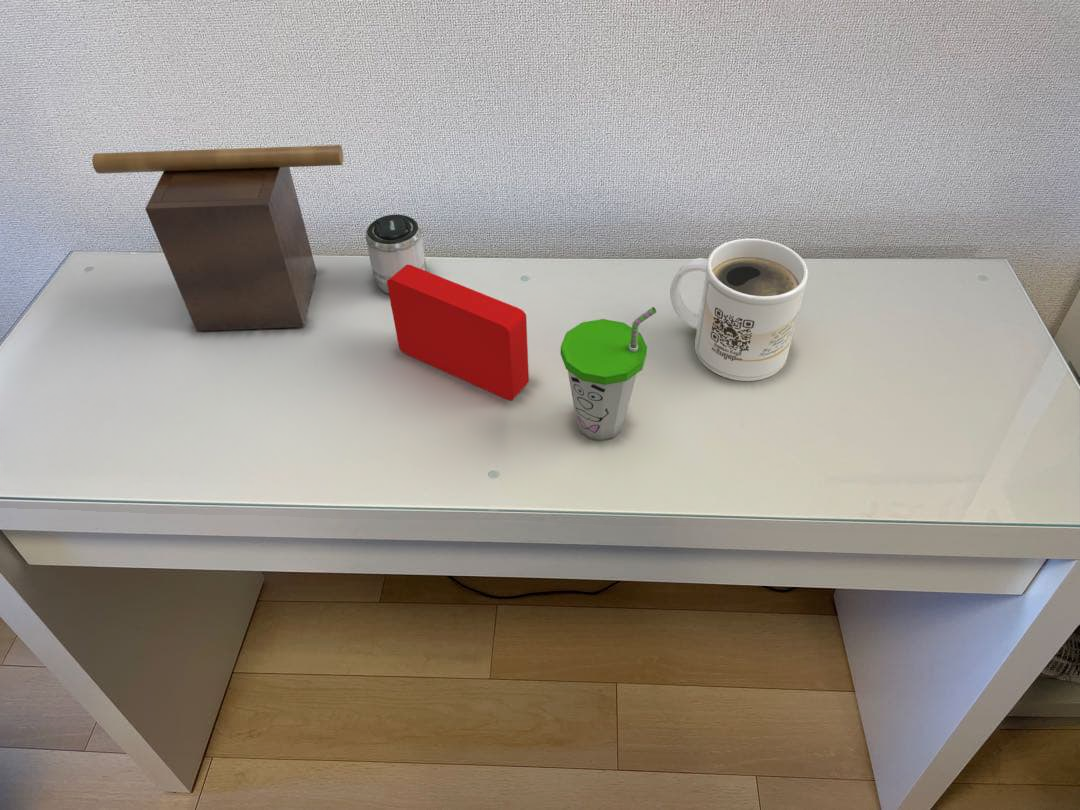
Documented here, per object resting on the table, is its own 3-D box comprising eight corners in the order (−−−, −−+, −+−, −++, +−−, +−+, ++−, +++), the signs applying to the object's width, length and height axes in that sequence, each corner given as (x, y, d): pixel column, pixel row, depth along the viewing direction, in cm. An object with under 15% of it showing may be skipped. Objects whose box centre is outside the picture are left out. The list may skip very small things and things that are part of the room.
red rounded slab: (529, 385, 89) (526, 310, 81) (513, 402, 87) (509, 328, 80) (416, 335, 94) (404, 262, 87) (399, 351, 93) (386, 277, 85)
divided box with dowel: (137, 333, 95) (161, 276, 102) (362, 324, 95) (371, 269, 102) (69, 193, 82) (102, 139, 89) (330, 184, 82) (343, 131, 89)
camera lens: (423, 261, 104) (415, 205, 98) (432, 292, 99) (424, 236, 94) (371, 269, 103) (360, 214, 97) (378, 301, 98) (367, 245, 93)
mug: (720, 395, 87) (736, 311, 79) (661, 325, 95) (670, 242, 87) (805, 364, 90) (829, 281, 82) (742, 299, 98) (757, 217, 90)
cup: (545, 432, 84) (543, 315, 73) (587, 385, 88) (591, 268, 78) (613, 466, 81) (621, 349, 70) (653, 415, 85) (667, 298, 74)
